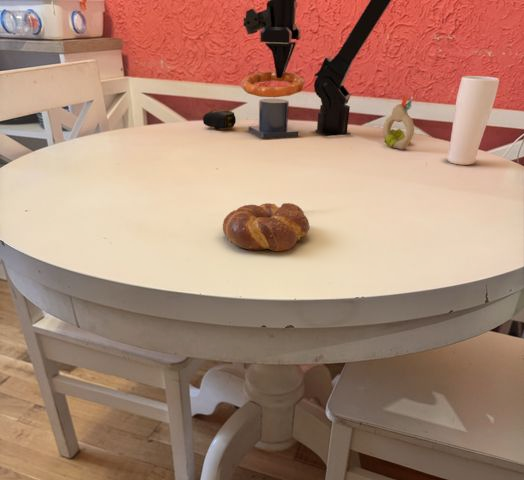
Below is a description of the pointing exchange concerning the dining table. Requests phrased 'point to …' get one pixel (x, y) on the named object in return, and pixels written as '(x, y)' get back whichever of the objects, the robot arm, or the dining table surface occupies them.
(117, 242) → the dining table surface
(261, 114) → the cup stand
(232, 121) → the tape measure
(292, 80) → the ring
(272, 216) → the pretzel
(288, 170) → the dining table surface
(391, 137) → the beige hollow ornament
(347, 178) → the dining table surface
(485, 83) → the drinking glass
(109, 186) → the dining table surface
